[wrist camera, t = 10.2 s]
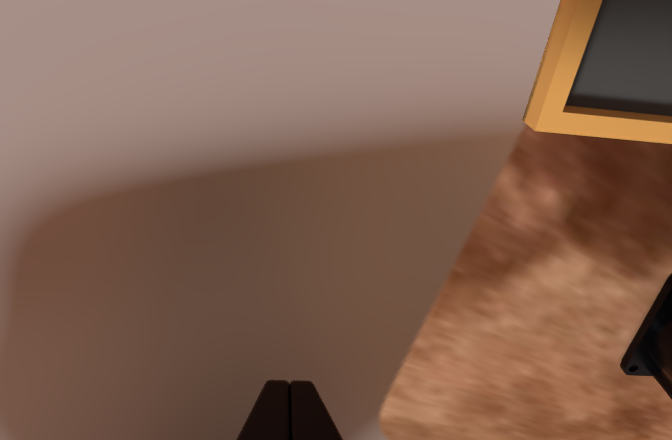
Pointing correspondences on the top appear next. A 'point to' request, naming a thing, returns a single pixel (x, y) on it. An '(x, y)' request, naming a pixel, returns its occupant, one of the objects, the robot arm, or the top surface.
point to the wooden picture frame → (606, 71)
